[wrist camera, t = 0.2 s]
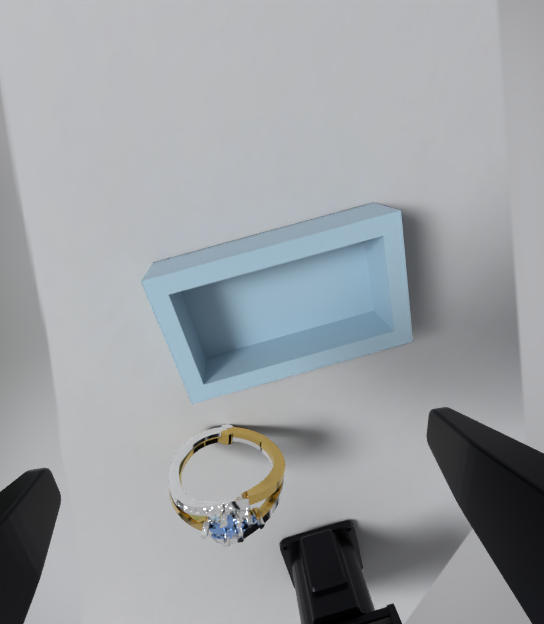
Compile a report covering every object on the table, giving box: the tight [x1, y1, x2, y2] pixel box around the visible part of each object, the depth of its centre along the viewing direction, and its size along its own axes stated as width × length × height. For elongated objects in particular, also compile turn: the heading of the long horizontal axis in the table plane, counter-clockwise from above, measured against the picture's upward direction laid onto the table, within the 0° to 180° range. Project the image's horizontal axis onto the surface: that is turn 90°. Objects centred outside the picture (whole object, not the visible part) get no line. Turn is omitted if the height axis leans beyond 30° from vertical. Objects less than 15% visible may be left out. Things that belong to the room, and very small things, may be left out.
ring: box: [169, 424, 285, 546], centre depth 22 cm, size 7×3×8 cm, turn 84°
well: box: [141, 203, 413, 404], centre depth 20 cm, size 8×13×4 cm, turn 104°
